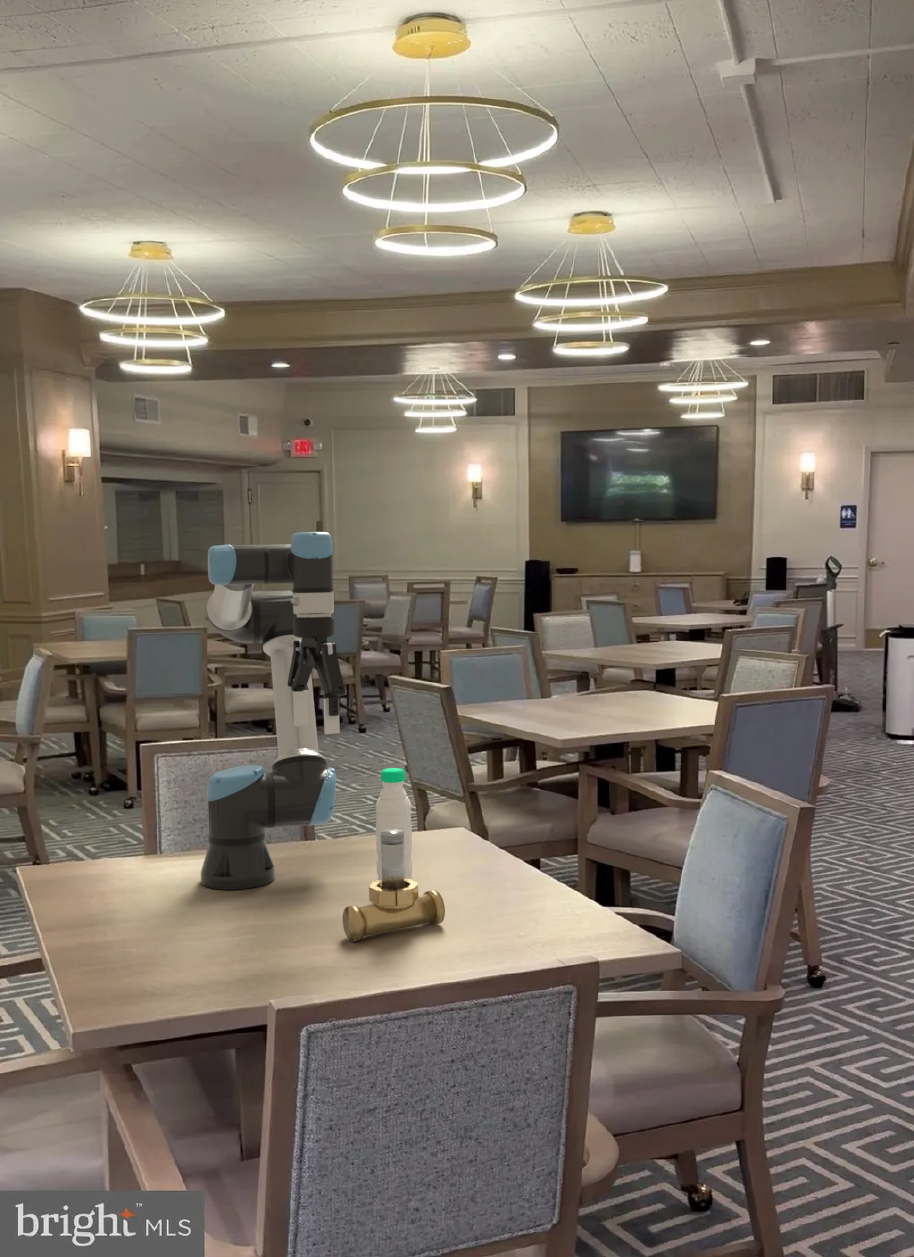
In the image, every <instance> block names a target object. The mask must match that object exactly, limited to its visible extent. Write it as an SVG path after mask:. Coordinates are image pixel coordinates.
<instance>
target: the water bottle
mask: <svg viewBox="0 0 914 1257" xmlns="http://www.w3.org/2000/svg"><path fill="white" fill-rule="evenodd" d="M405 777H406V774H405V770H404V769H403V768H398V767H390V768H388V767H387V768H384V769H382V770H381V771H380V781H381V784H382V785H383V787H382V790H381V791H380V793H379V797H378V799H377V801H376V803H375V812H376V821H375V838H376V839H375V840H376V842H375V843H376V854H377V861H376V873H377V879H376V881H378V880H382V855H381V832H382V831H384V830H389V829H398V830H403V831H404V875H405V879H410V880H413V860H412V853H413V852H412V851H413V838H412V836H413V832H412V831H413V830H412V828H413V827H412V818H411V817H412V816H411V815H412V814H411V811H412V804H411V800H410V799H409V796H408V794H407V792H406V790H405V789H404V783H405V780H406V778H405Z"/></svg>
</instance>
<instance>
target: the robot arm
mask: <svg viewBox="0 0 914 1257" xmlns="http://www.w3.org/2000/svg"><path fill="white" fill-rule="evenodd" d="M332 539H333V538H332V535H331V534H330V533H329V532H325V531H323V532H322V531H316V532H315V531H314V532H313V531H312V532H311V531H309V532H308V531H307V532H306V531H305V532H303V531H302V532H295V533H293V534H292V536H291V541H290V542H291V543H290V544H289V543H286V544H283V543H282V544H228V543H227V544H222V545H221V544H220V545H219V544H218V545H212V546H210V547H209V548H208V551H207V574H208V576H207V577H208V580H209V581H208V582H209V583H211V584H212V585H214V590H213V593H212V594H211V595H210V597H209V598H208V599H207V600H208V601H207V604H206V617H207V620H208V622H209V624H210V625H211V627H212V628H213V629H214V630H215V631H216V632H217V633H219V634H220V635H221V636H223V637H225V638H227V639H228V640H231V641H234V642H237V643H242V644H262V650H263V652H264V653H265V654H266V655H267V656H269V657H270V666H271V680H272V692H273V703H274V704H273V706H274V716H275V730H276V739H277V740H276V741H277V753H278V756H277V758H276V759H275V760H274V761H273V763H272V764H271V768H272V770H271V771H269V772H268V771H267V772H265V769H264V768H263V766H262V765H259V764H253V765H250V764H249V765H247V764H245V765H241V766H239V765H238V766H235V767H230V768H226V769H223V770H220V771H217V772H215V773H214V774H212V775H211V776H210V777H209V778H208V779H207V782H206V784H207V786H206V787H207V788H206V790H207V791H206V796H205V798H206V800H205V801H207V833H208V837H207V838H208V845H207V846H208V847H207V848H206V849H207V850H206V854H205V856H204V861H203V864H202V867H201V870H200V883H201V885H203V886H204V887H206V888H209V889H213V890H226V891H231V890H232V891H233V890H245V889H251V888H252V889H253V888H256V887H261V886H264V885H267V884H269V883H271V882H272V881H274V880H275V878H276V875H275V874H276V873H275V870H276V869H275V865H274V862H273V859H272V857H271V853H270V852H269V851H270V850H269V848H268V846H267V843H266V829H276V828H288V827H303V826H308V827H312V826H313V825H321V824H326V823H328V822H329V821H330V820H331V819H332V817H333V814H334V808H335V802H336V801H335V800H336V788H337V775H336V769H335V768H333V767H328V763H327V761H328V760H327V759H326V757H325V756H323V755H322V754H321V753H320V752H319V744H318V733H317V723H316V722H317V721H316V712H315V702H314V699H315V698H314V691H313V690H314V688H313V681H312V671H313V669H314V670H316V673H317V675H318V678H319V681H320V683H321V686H322V688H323V692H324V694H323V696H322V699H323V729H324V731H323V732H324V735H334V734H340V733H341V731H340V728H341V726H340V698H341V696H345V694H346V688H345V683H344V680H343V675H342V672H341V667H340V663H339V660H338V655H337V654H338V653H337V644H336V642H328V637H333V636H334V635H335V618H334V616H333V615H332V614H334V612H335V602H334V600H335V597H334V596H335V595H334V588H333V587H334V586H333V585H334V583H333V582H334V580H333V579H334V577H333V574H334V573H333V569H334V568H333V566H334V565H333V554H334V548H333V541H332ZM265 584H266V585H267V584H269V585H270V584H272V585H273V584H292V589H290V590H269V591H268V590H266V591H265V590H264V591H262V590H261V591H259V590H258V591H257V590H255V591H253V590H254V585H265Z"/></svg>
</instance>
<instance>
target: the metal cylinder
mask: <svg viewBox="0 0 914 1257" xmlns="http://www.w3.org/2000/svg"><path fill="white" fill-rule="evenodd" d="M381 855H382V889H390V890H397V889H402V888H405V875H404V831H403V830H398V829H389V830H384V831H382V832H381Z"/></svg>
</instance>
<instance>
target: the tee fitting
mask: <svg viewBox="0 0 914 1257" xmlns="http://www.w3.org/2000/svg"><path fill="white" fill-rule="evenodd" d="M377 880H378V879H377ZM377 880H375V881H372V883H370V884H369V885H368V899H369V901H370V902H372V904H371V905H365V906H361V907H359V906H358V905H349V906H346V907H345V908H344V909H343V912H342V928H343V931H344V934H345V936H346V938H347V940H348V941H350V942H352V943H355V942H359V941H362V940H363V939H364V937H368V936H373V935H377V934H382V933H383V934H384V933H387V932H392V931H396V930H403V929H406V928H411V927H416V926H421V925H425V924H428V925H431V926H434V925H439V924H440V925H441V924H442V923H443V922H444V920H445V916H446V909H445V908H446V906H445V903H444V902H445V901H444V899H443V896H442V895H441V894H440V892H439V891H438V890H435V889H432V890H428V891H427V890H426V891H424V892H423V894H422V895H419V882H417V881H414V880H413V879H412V880H410V879H405V888H402V889H397V890H390V889H382V880H378V881H377Z"/></svg>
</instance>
